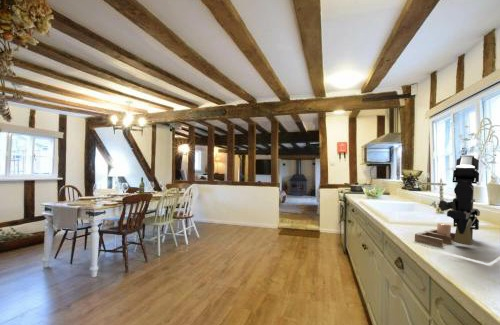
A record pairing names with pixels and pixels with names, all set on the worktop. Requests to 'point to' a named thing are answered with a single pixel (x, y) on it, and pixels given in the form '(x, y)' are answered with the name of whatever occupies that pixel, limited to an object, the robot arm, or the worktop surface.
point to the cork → (464, 235)
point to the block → (443, 229)
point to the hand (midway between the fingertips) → (463, 233)
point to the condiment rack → (434, 238)
